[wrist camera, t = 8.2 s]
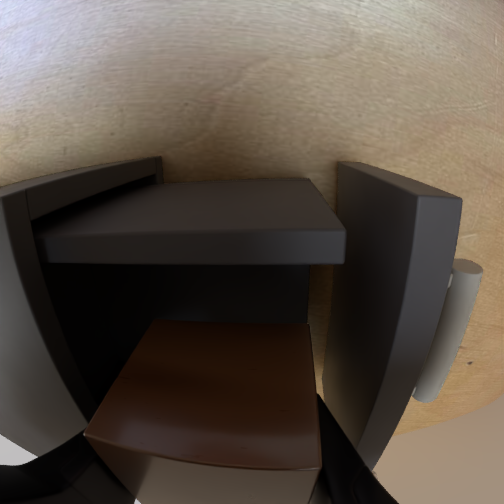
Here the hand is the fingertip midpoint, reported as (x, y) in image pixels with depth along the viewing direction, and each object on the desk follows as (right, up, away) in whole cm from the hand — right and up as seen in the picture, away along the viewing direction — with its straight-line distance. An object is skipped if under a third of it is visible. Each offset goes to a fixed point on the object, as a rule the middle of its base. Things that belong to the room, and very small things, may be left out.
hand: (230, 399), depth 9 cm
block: (0, 0, +1) cm, 1 cm away
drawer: (+1, +3, +7) cm, 8 cm away
